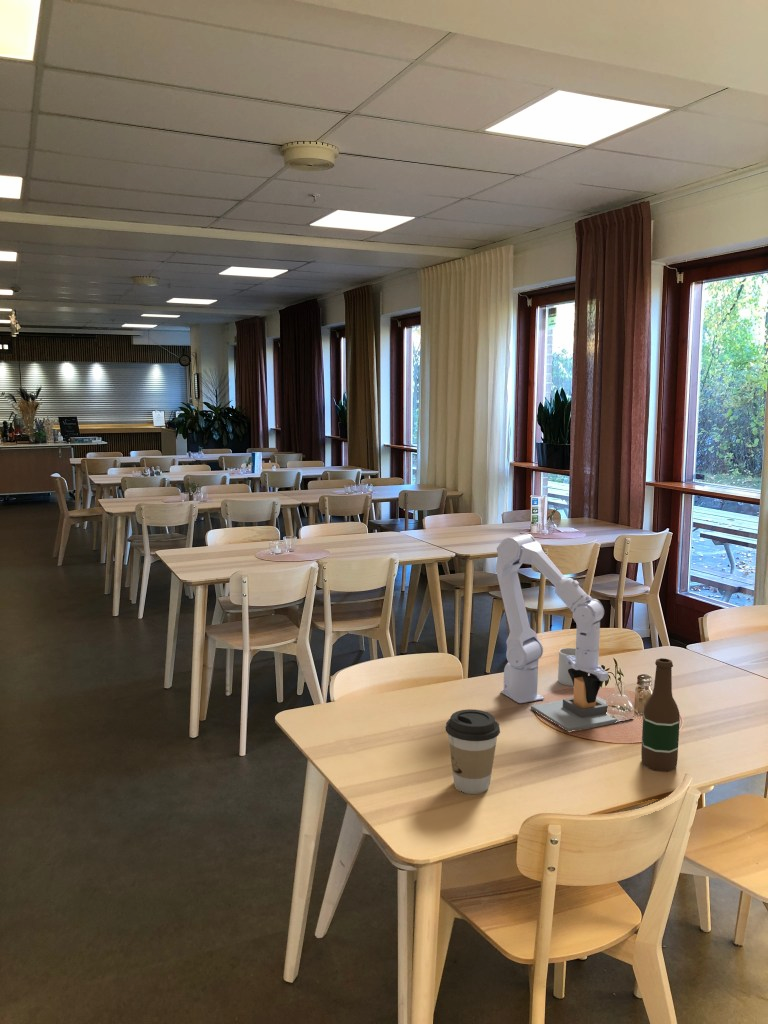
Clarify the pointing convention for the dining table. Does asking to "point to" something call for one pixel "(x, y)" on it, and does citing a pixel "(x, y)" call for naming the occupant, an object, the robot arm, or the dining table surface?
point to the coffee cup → (472, 748)
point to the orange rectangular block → (581, 694)
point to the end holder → (575, 714)
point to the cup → (565, 666)
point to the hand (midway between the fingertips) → (585, 699)
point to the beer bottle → (661, 722)
